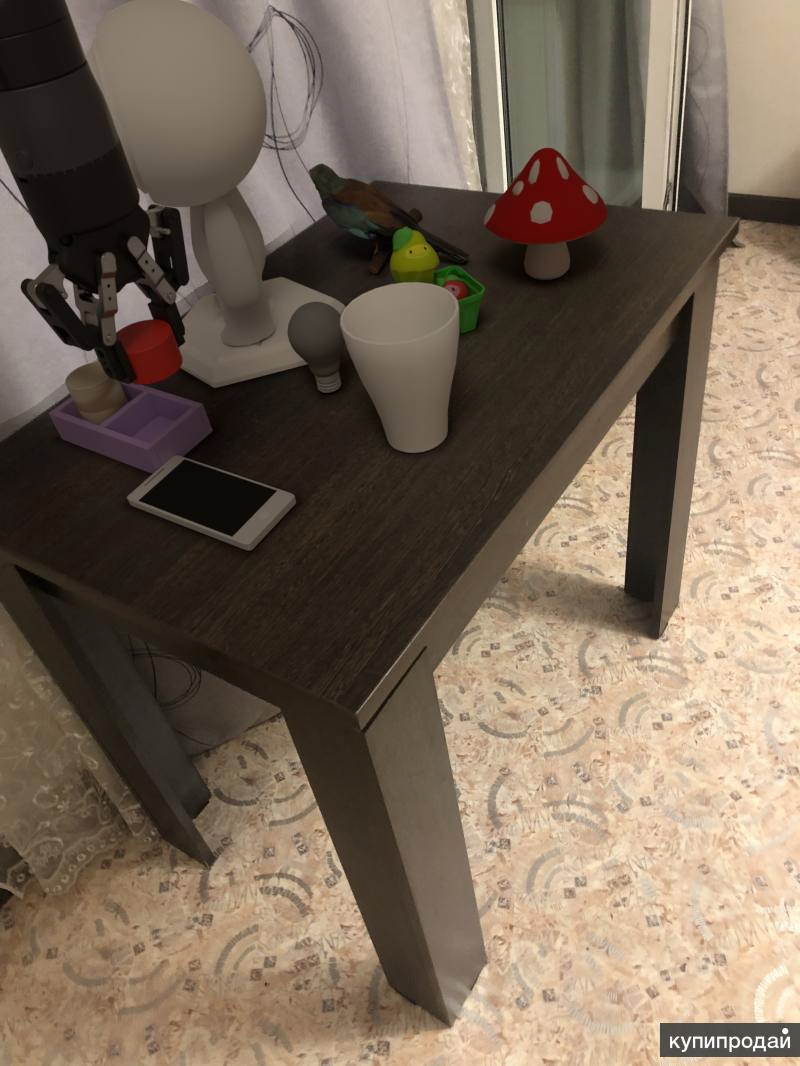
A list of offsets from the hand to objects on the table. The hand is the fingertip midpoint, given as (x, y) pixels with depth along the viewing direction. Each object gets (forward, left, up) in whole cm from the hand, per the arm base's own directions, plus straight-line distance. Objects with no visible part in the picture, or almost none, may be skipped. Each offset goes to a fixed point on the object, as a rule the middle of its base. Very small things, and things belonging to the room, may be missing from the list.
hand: (150, 361), depth 67 cm
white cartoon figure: (+26, +16, -16) cm, 34 cm away
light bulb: (+20, 0, -16) cm, 25 cm away
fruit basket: (+34, -4, -16) cm, 37 cm away
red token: (0, 0, -1) cm, 1 cm away
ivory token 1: (+5, +18, -12) cm, 22 cm away
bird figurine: (+48, +10, -16) cm, 51 cm away
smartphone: (0, -1, -16) cm, 16 cm away
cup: (+17, -13, -16) cm, 27 cm away
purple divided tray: (+5, +15, -15) cm, 22 cm away
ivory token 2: (+5, +18, -15) cm, 24 cm away
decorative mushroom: (+50, -11, -16) cm, 53 cm away
